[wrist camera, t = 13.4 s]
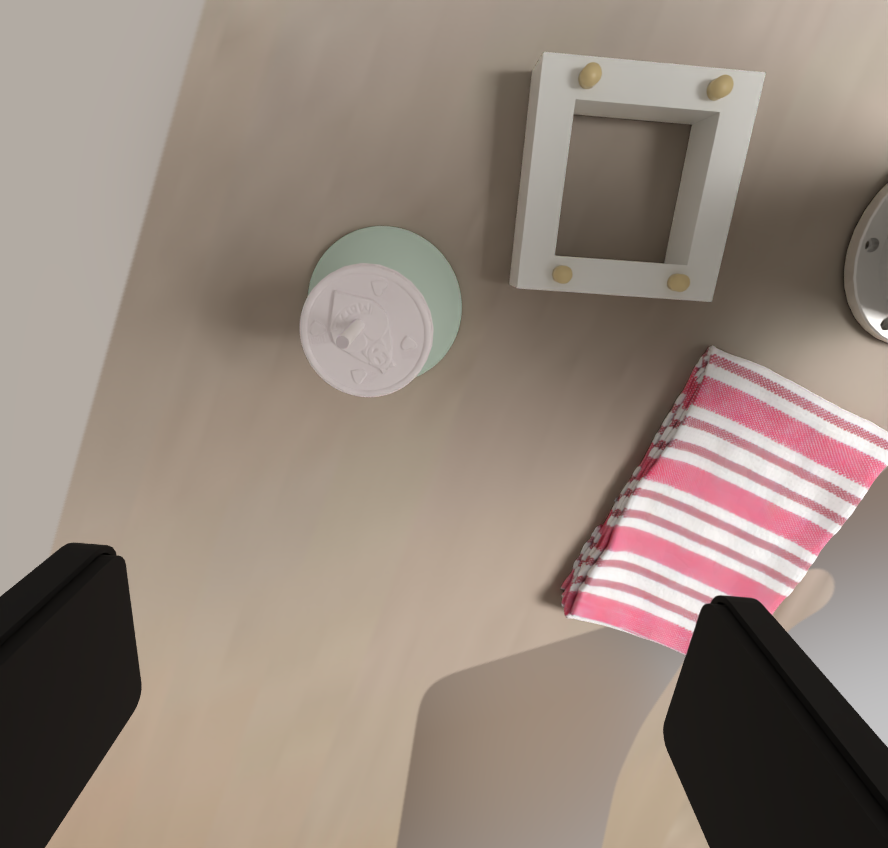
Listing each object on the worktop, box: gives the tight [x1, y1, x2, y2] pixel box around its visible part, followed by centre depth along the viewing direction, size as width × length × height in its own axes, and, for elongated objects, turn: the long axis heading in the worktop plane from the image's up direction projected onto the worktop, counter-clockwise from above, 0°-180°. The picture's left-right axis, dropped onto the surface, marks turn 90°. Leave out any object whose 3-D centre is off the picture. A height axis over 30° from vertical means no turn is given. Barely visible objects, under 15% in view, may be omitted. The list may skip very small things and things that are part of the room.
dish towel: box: [561, 345, 888, 655], centre depth 39 cm, size 17×23×4 cm
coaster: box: [308, 226, 462, 377], centre depth 34 cm, size 10×10×1 cm
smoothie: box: [300, 263, 434, 397], centre depth 27 cm, size 6×6×14 cm
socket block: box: [509, 52, 766, 302], centre depth 30 cm, size 12×12×4 cm
